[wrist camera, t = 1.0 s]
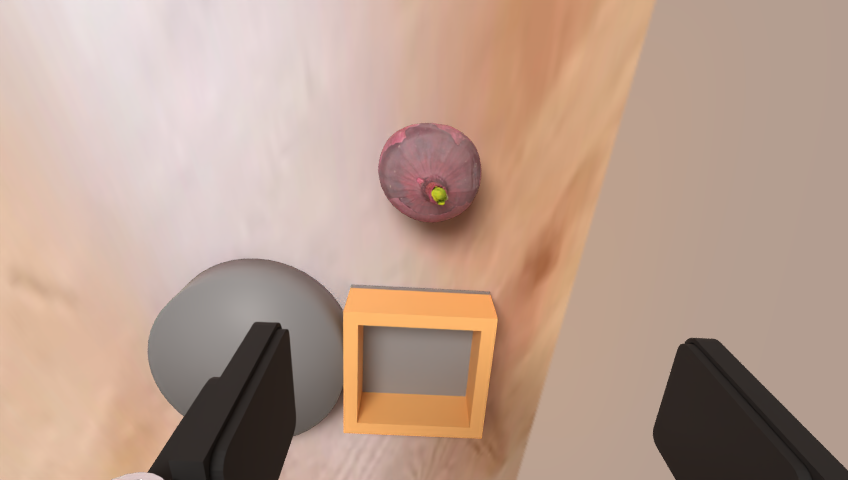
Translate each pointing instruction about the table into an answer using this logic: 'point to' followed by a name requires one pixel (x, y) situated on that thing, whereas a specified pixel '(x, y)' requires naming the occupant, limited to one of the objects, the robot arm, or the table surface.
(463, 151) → the vegetable
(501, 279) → the table surface
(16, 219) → the table surface
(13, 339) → the table surface
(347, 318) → the dome with orange frame
